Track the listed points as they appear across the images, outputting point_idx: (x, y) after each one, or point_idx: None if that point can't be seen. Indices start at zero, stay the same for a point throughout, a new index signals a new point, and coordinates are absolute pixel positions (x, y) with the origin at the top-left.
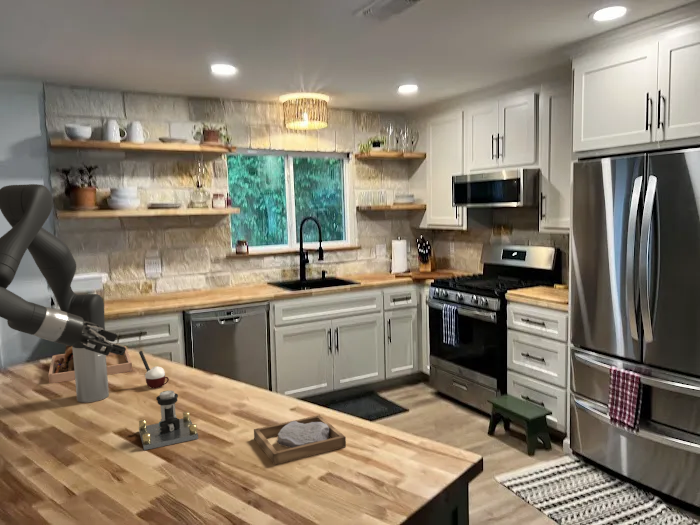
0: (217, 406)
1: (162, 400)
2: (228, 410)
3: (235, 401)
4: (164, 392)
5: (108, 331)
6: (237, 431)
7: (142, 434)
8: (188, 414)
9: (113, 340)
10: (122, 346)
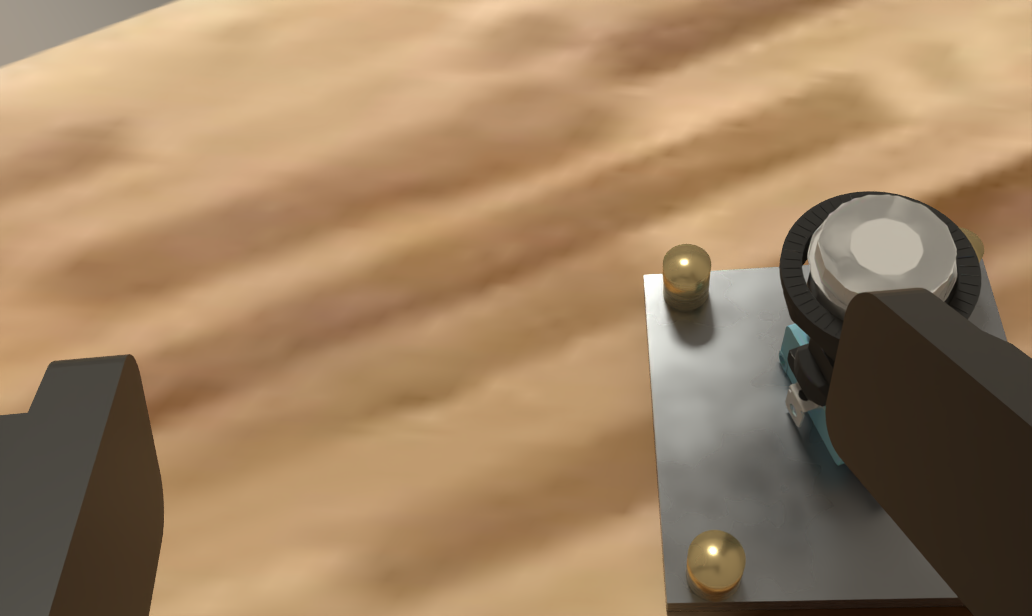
0: (472, 133)
1: (973, 308)
2: (575, 92)
3: (451, 50)
4: (867, 263)
5: (14, 508)
6: (933, 88)
7: (840, 587)
8: (705, 256)
9: (156, 497)
10: (924, 318)
